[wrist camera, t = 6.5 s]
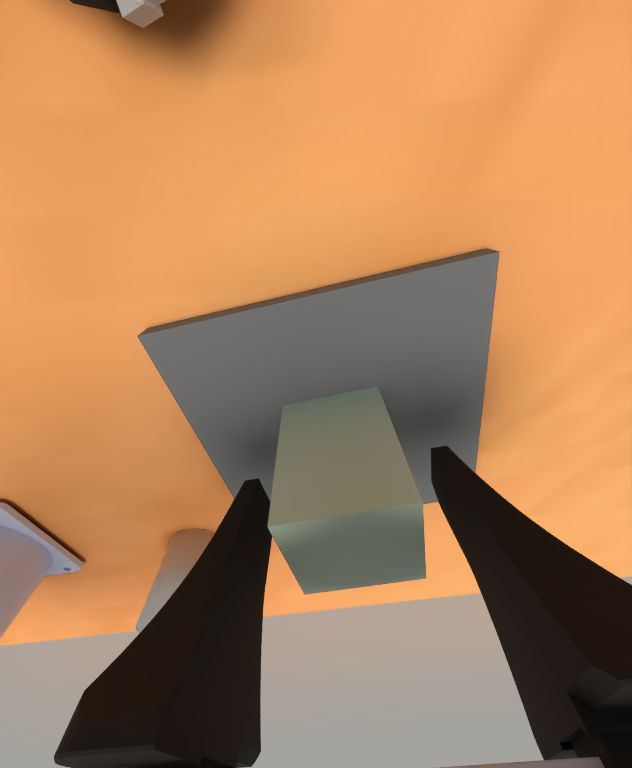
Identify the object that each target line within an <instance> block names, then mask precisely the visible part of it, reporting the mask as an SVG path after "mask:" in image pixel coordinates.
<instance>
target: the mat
mask: <svg viewBox="0 0 632 768" xmlns="http://www.w3.org/2000/svg"><path fill="white" fill-rule="evenodd" d="M498 261H499V251H495V250H491V249H484V250H480V251H475V252H471V253H467V254H463V255H458V256H454V257H450V258H446V259H441V260H437V261H433V262H429V263H424V264H420V265H416V266H412V267H407V268H403V269H399V270H395V271H390V272H386V273H382V274H377V275H373V276H369V277H365V278H360V279H356V280H352V281H348V282H343V283H339V284H335V285H331V286H326V287H322V288H318V289H314V290H309V291H305V292H301V293H297V294H292V295H288V296H284V297H280V298H275V299H271V300H267V301H263V302H258V303H254V304H250V305H246V306H241V307H237V308H233V309H229V310H224V311H220V312H216V313H212V314H207V315H203V316H199V317H195V318H190V319H186V320H182V321H178V322H173V323H169V324H165V325H161V326H156V327H152V328H148V329H146V330H145V331H143V332H142V333H141V334H139V335H138V338H139V340H140V341H141V343H142V345H143V346H144V348H145V350H146V351H147V353H148V355H149V356H150V358H151V360H152V361H153V363H154V365H155V366H156V368H157V370H158V371H159V373H160V375H161V376H162V378H163V380H164V381H165V383H166V385H167V387H168V388H169V390H170V392H171V393H172V395H173V397H174V398H175V400H176V402H177V403H178V405H179V407H180V408H181V410H182V412H183V413H184V415H185V417H186V418H187V420H188V422H189V423H190V425H191V427H192V428H193V430H194V432H195V433H196V435H197V437H198V438H199V440H200V442H201V443H202V445H203V447H204V448H205V450H206V452H207V453H208V455H209V457H210V458H211V460H212V462H213V464H214V465H215V467H216V469H217V470H218V472H219V474H220V475H221V477H222V479H223V480H224V482H225V484H226V485H227V487H228V489H229V490H230V492H231V494H232V495H233V497H234V499H235V497H236V496H237V494H238V492H239V490H240V488H241V486H242V484H243V483H244V481H245V480H251V479H257V478H259V480H260V482H261V484H262V486H263V488H264V490H265V492H266V494H267V496H268V498H269V500H270V502H271V495H272V487H273V479H274V471H275V463H276V455H277V447H278V439H279V431H280V423H281V415H282V407H283V405H287V404H292V403H297V402H302V401H307V400H312V399H317V398H322V397H327V396H332V395H337V394H342V393H347V392H352V391H357V390H362V389H367V388H372V387H377V386H378V388H379V391H380V393H381V396H382V398H383V401H384V404H385V406H386V409H387V411H388V414H389V416H390V419H391V422H392V424H393V427H394V429H395V432H396V435H397V437H398V440H399V442H400V445H401V448H402V450H403V453H404V455H405V458H406V460H407V463H408V466H409V468H410V471H411V473H412V476H413V479H414V481H415V484H416V486H417V489H418V492H419V494H420V497H421V499H422V502H423V504H426V503H433V502H439V501H438V499H437V496H436V493H435V490H434V488H433V485H432V482H431V448H435V447H441V446H448V447H449V448H450V449H451V450H452V451H453V452H454V453H455V454H456V455H457V456H458V457H459V458H460V459H461V460H462V461H463V462H464V463H465V464H466V465H467V466H468V467H469V468H471V469H472V470H473V471H474V472H475V471H476V461H477V452H478V443H479V434H480V425H481V416H482V407H483V398H484V389H485V380H486V371H487V361H488V352H489V343H490V334H491V325H492V316H493V307H494V298H495V289H496V280H497V270H498Z"/></svg>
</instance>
